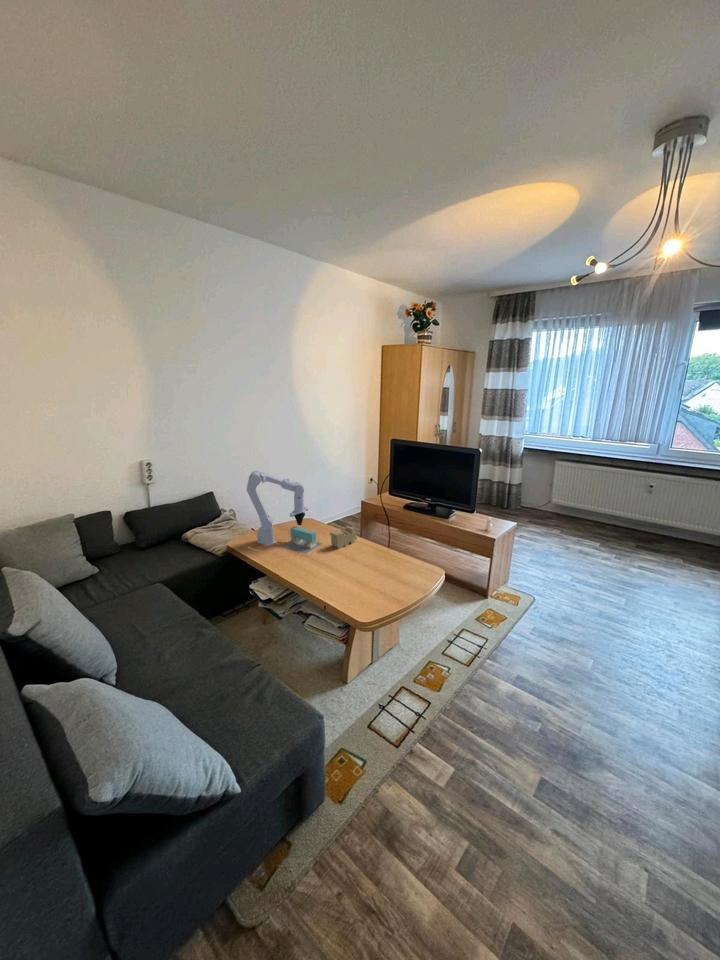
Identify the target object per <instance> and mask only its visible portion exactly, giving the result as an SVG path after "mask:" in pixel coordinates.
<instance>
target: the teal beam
mask: <svg viewBox="0 0 720 960" xmlns="http://www.w3.org/2000/svg"><path fill="white" fill-rule="evenodd" d="M291 536H292V537H296V538H299V539H303V540H306V541H310V542H313V541H315V540H316V541H317V532H316V531H313V530H309V529H306V528H301V527H298V526H292V527H290V537H291Z"/></svg>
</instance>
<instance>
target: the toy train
mask: <svg viewBox="0 0 720 960" xmlns="http://www.w3.org/2000/svg"><path fill="white" fill-rule="evenodd" d="M329 535H330V537H331V538H330V539H331V540H330V542H331V545H332V547H334V548H336V549H342V548H344V547H347V546H349V544H354V543H355V541H356V540H357V538H358V537H357V535H356V531H355V527H352V526H349V525H347V526H345V528H344V530H343V529H340V530H338V529H336V530H333V531H331V532H329Z"/></svg>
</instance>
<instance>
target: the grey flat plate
mask: <svg viewBox="0 0 720 960" xmlns="http://www.w3.org/2000/svg"><path fill="white" fill-rule="evenodd" d="M321 545H323V543H321V542H318V541H316V546H315V547H313V548H311V549H310V548H307V547H304V540H303V542H302V543H300V544H298V545H296V544H293V543H291V541H289V542H287V543H285V544H283V545H282V547H283V548H285V549H288V550H293V551H296V552H300V553H302V554H308V553H309V552H311V551H313V550H315V549H316V548H318V547H320V546H321Z"/></svg>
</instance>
